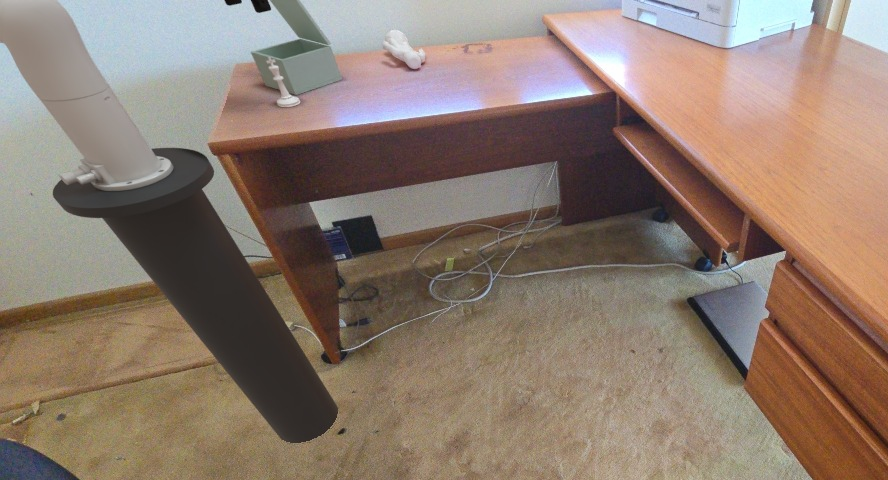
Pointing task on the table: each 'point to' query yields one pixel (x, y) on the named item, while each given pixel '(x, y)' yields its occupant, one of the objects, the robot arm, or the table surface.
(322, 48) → the gray-green box
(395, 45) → the figure
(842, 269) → the table surface
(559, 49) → the table surface
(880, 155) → the table surface
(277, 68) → the chess piece
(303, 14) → the lid
